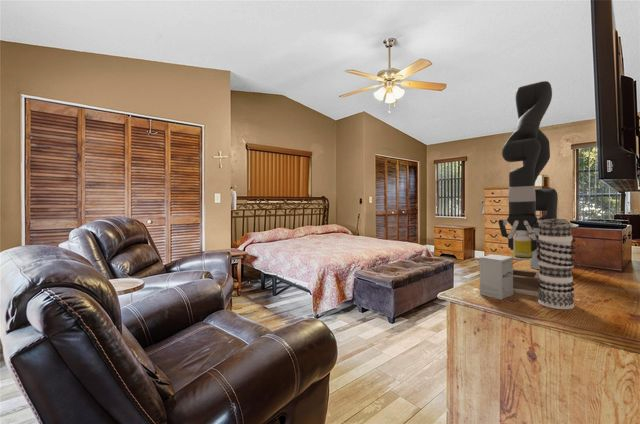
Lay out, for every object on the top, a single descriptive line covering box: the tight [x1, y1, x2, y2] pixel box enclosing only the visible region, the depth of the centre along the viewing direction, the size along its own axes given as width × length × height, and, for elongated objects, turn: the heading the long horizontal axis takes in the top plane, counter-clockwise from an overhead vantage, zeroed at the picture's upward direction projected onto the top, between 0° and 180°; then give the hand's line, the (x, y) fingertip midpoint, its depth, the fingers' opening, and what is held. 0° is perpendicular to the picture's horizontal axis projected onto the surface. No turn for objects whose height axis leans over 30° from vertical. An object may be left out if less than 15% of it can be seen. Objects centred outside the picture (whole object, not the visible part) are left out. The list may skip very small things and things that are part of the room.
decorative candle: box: [536, 218, 577, 310], centre depth 89 cm, size 9×9×25 cm
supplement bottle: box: [512, 230, 532, 261], centre depth 102 cm, size 5×5×10 cm
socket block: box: [513, 268, 540, 297], centre depth 103 cm, size 10×10×6 cm
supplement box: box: [478, 254, 514, 301], centre depth 99 cm, size 7×7×13 cm
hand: (522, 250), depth 102 cm, fingers closed on supplement bottle, 5 cm apart
